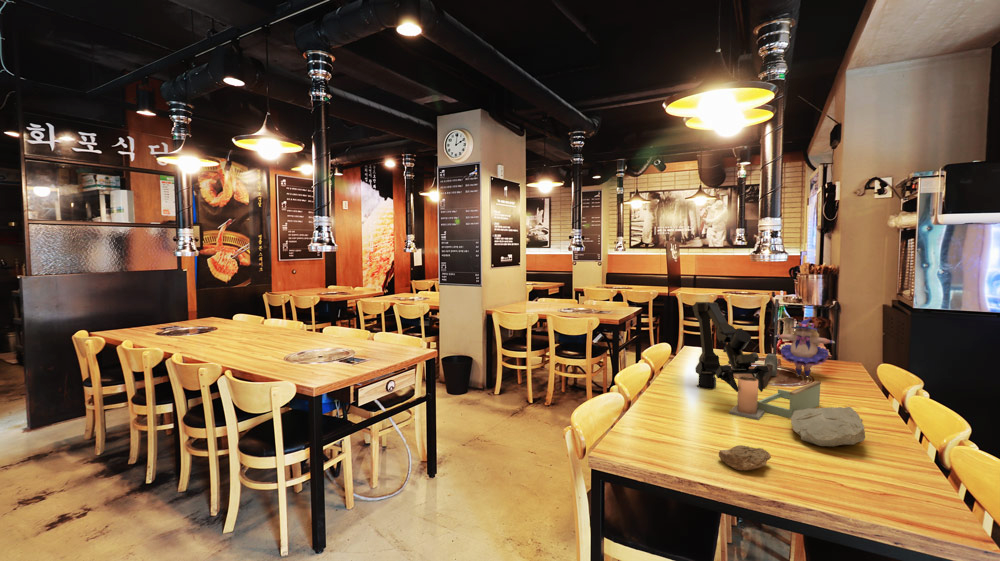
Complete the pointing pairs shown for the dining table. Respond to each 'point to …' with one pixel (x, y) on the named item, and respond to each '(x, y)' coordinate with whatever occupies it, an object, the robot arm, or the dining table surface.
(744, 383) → the pink cup
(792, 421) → the stone
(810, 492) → the dining table surface
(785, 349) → the toy
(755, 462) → the rock
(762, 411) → the metal tile
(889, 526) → the dining table surface
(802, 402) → the cold frame
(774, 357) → the hammer
